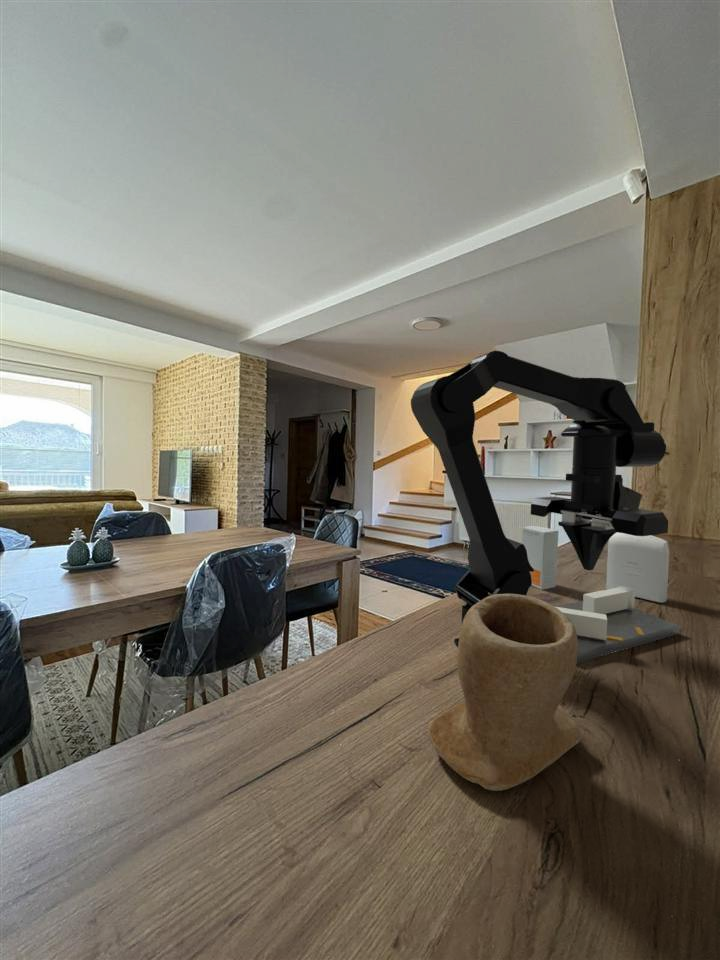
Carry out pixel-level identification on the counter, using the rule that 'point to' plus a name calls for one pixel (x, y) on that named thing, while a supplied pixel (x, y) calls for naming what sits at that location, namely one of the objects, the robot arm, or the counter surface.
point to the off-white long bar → (609, 600)
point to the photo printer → (639, 565)
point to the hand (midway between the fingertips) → (588, 569)
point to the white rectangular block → (587, 623)
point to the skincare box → (541, 554)
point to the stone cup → (509, 692)
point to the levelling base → (622, 632)
